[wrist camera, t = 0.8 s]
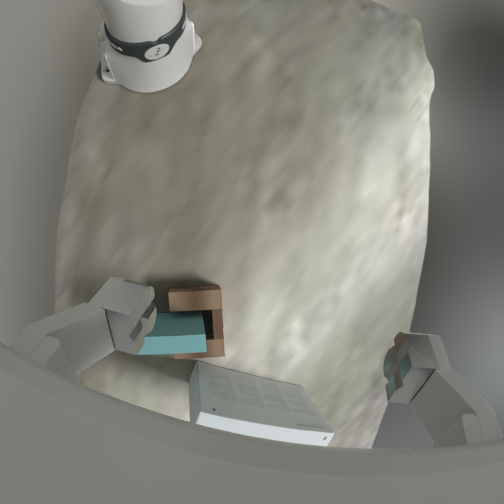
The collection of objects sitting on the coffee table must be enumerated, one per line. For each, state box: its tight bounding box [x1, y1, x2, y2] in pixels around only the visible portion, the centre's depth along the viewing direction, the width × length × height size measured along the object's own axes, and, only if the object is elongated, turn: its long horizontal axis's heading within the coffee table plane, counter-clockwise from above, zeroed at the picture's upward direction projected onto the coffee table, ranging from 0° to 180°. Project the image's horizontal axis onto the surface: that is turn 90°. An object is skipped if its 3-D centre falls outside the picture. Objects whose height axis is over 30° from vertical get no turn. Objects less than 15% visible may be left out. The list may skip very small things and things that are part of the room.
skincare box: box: [189, 361, 335, 446], centre depth 46 cm, size 21×5×16 cm, turn 70°
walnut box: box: [168, 285, 225, 359], centre depth 49 cm, size 8×11×4 cm
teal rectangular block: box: [132, 311, 207, 355], centre depth 45 cm, size 10×2×12 cm, turn 92°
